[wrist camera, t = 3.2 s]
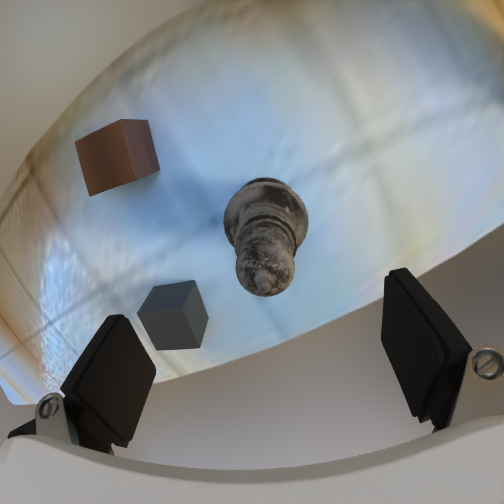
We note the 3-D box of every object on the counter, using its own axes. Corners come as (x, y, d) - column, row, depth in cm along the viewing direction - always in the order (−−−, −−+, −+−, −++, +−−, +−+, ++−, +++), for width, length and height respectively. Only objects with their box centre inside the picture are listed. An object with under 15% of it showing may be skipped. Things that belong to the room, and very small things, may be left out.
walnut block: (147, 119, 19) (121, 118, 15) (160, 169, 21) (137, 179, 17) (104, 137, 20) (74, 141, 16) (117, 184, 22) (89, 196, 18)
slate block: (195, 280, 25) (182, 308, 21) (208, 317, 27) (200, 348, 23) (153, 286, 26) (136, 313, 22) (169, 321, 28) (156, 350, 24)
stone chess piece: (240, 249, 24) (219, 349, 13) (221, 183, 21) (174, 241, 11) (308, 235, 23) (340, 329, 12) (293, 166, 21) (324, 206, 10)
